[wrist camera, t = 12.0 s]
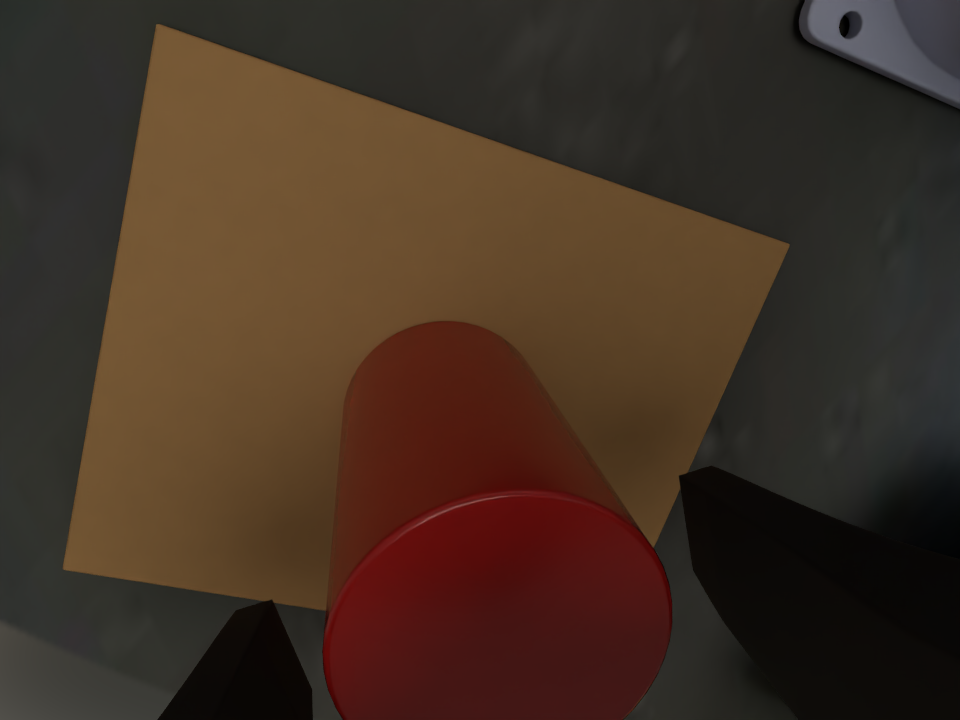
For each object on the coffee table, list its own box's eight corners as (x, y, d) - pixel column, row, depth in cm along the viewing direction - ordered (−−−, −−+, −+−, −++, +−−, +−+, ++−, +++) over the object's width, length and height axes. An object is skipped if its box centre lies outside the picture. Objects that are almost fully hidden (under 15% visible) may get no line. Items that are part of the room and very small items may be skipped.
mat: (781, 241, 16) (791, 244, 16) (601, 645, 19) (606, 655, 19) (161, 25, 13) (155, 22, 12) (68, 560, 16) (61, 570, 15)
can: (509, 292, 15) (635, 438, 8) (560, 464, 17) (702, 712, 10) (311, 360, 15) (261, 571, 8) (383, 527, 16) (395, 827, 9)
